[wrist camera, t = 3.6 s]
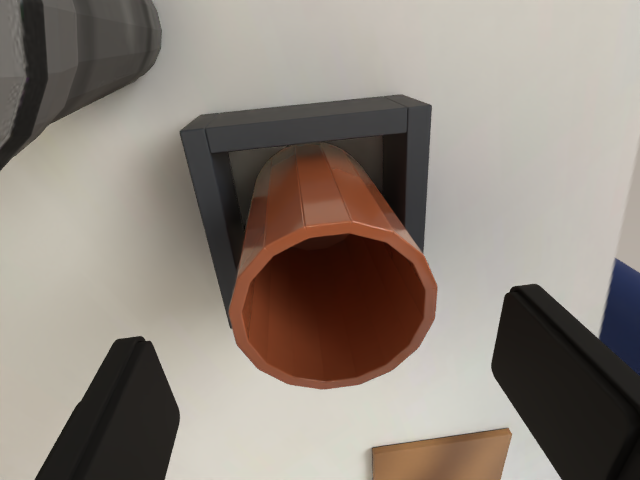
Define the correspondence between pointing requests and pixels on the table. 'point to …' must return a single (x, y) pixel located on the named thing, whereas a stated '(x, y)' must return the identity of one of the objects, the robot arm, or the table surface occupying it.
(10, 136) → the beverage cup
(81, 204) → the table surface
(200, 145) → the cup holder
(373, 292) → the tumbler
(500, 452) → the cork mat
